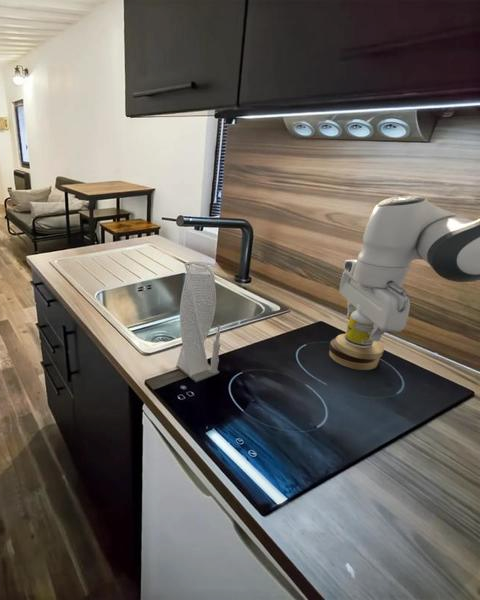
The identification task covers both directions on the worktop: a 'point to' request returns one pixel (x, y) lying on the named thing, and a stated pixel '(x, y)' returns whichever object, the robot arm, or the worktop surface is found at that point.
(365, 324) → the supplement bottle
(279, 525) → the worktop surface
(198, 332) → the skyscraper
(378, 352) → the coaster pile
